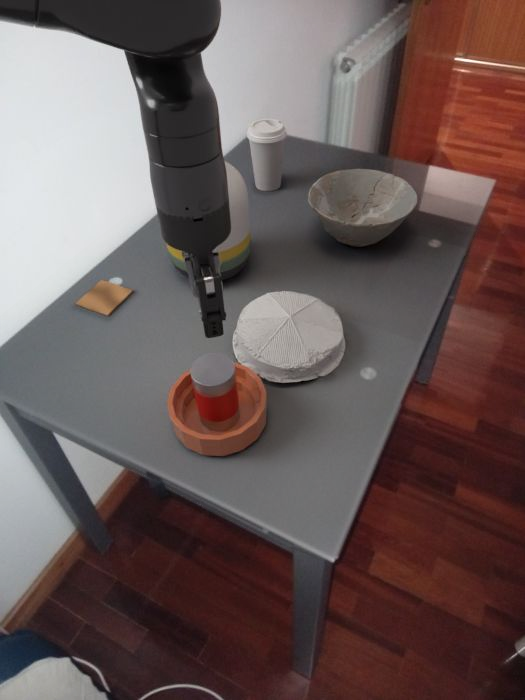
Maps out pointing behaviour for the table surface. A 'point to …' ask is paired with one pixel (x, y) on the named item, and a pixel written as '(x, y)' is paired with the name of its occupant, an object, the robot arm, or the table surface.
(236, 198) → the vase
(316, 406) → the table surface
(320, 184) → the ceramic bowl
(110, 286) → the coaster
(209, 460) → the table surface
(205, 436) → the dish
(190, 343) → the table surface
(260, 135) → the coffee cup
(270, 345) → the white round slab
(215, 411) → the can
